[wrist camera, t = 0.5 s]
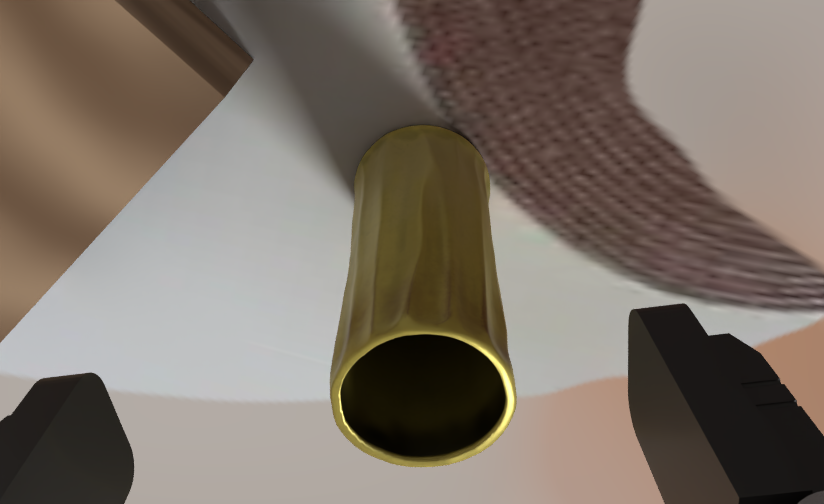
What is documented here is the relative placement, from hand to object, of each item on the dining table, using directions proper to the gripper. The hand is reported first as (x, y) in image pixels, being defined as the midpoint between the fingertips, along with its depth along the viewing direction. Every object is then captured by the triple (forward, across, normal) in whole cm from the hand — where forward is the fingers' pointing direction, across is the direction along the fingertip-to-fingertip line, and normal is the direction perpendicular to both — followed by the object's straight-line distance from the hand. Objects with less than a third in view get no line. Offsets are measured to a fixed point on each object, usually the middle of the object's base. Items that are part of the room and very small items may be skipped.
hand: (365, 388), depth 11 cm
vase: (+21, -1, +5) cm, 22 cm away
